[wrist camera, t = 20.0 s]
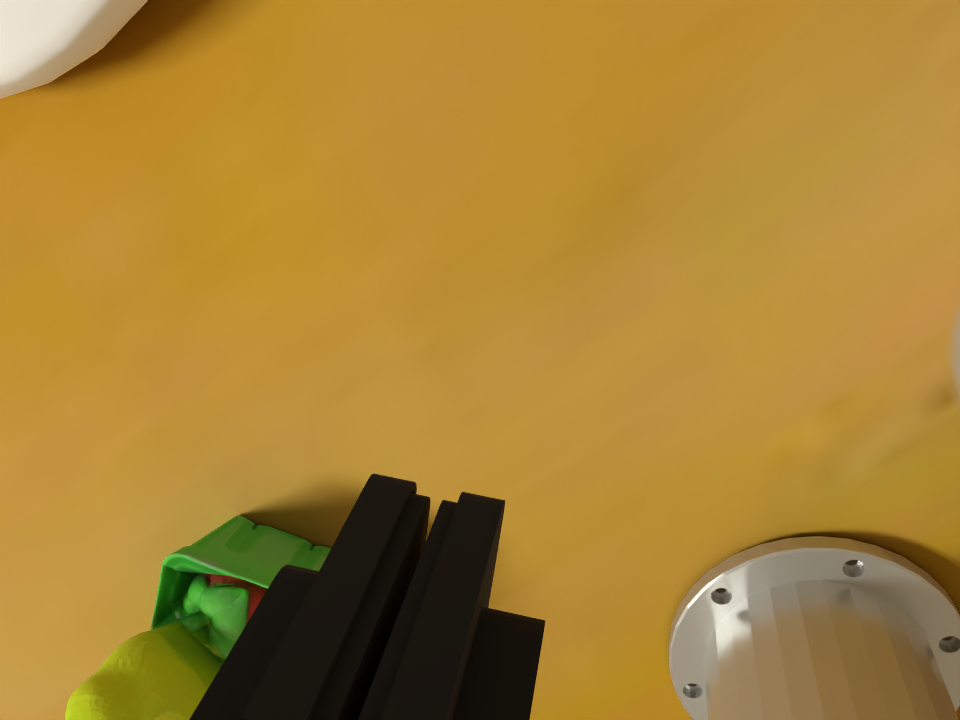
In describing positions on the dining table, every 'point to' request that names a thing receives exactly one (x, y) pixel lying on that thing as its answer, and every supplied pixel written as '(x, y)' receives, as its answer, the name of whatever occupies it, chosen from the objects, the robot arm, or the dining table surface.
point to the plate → (54, 37)
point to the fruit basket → (192, 623)
